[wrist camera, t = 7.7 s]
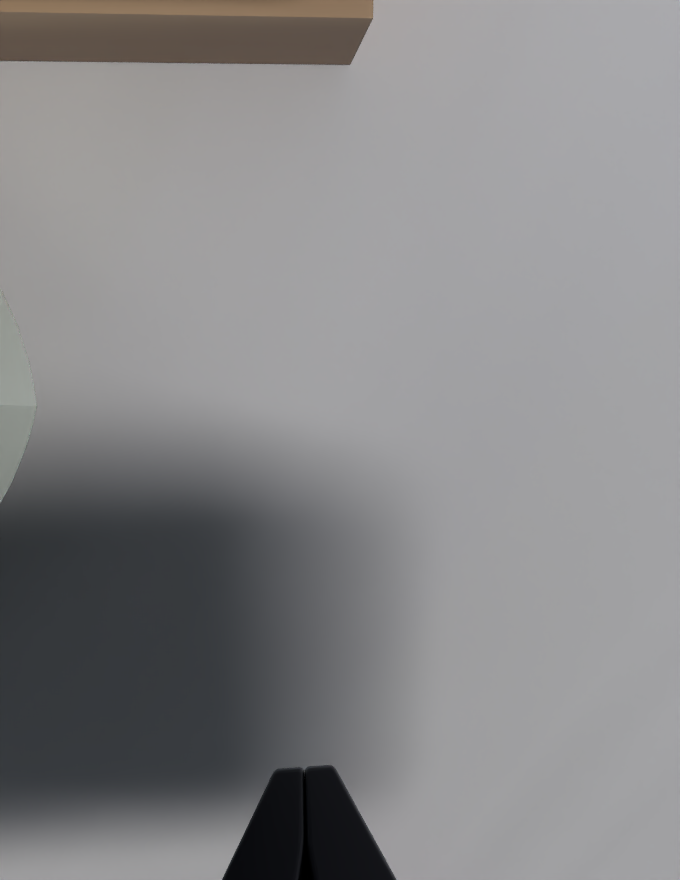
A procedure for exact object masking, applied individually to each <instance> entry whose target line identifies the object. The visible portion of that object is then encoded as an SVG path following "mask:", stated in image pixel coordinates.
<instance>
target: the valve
mask: <svg viewBox="0 0 680 880" xmlns="http://www.w3.org/2000/svg"><path fill="white" fill-rule="evenodd" d="M36 408H37V403H36V396H35V390H34V383H33V378H32V374H31V369H30V364H29V361H28V357H27V354H26V351H25V348H24V344H23V341H22V338H21V335H20V332H19V329H18V326H17V323H16V321H15V319H14V317H13V314H12V312H11V310H10V308H9V306H8V303H7V301H6V299H5V297H4V295H3V293H2V290H1V288H0V503H1V501H2V499H3V498H4V496H5V494H6V492H7V490H8V489H9V487H10V485H11V483H12V481H13V479H14V476H15V474H16V471H17V469H18V467H19V464H20V462H21V459H22V457H23V454H24V451H25V449H26V446H27V443H28V440H29V436H30V433H31V429H32V426H33V421H34V417H35V413H36Z"/></svg>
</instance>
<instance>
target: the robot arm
mask: <svg viewBox="0 0 680 880" xmlns="http://www.w3.org/2000/svg"><path fill="white" fill-rule="evenodd" d="M222 880H396V878H395V876H394V874H393V872H392V871H391V869H390V867H389V865H388V863H387V862H386V860H385V858H384V856H383V854H382V852H381V851H380V849H379V847H378V845H377V843H376V842H375V840H374V838H373V836H372V834H371V832H370V831H369V829H368V827H367V825H366V823H365V821H364V820H363V818H362V816H361V814H360V812H359V811H358V809H357V807H356V805H355V803H354V801H353V800H352V798H351V796H350V794H349V792H348V791H347V789H346V787H345V785H344V783H343V781H342V780H341V778H340V776H339V774H338V772H337V771H336V769H335V768H334V767H333V766H331V765H323V766H310V767H307V768H306V770H305V776H304V770H303V769H302V768H300V767H295V768H281V769H277V770H275V771H274V773H273V774H272V776H271V778H270V780H269V782H268V784H267V787H266V789H265V791H264V793H263V795H262V797H261V799H260V801H259V803H258V805H257V808H256V810H255V812H254V814H253V816H252V818H251V820H250V822H249V824H248V826H247V828H246V831H245V833H244V835H243V837H242V839H241V841H240V843H239V845H238V847H237V849H236V851H235V854H234V856H233V858H232V860H231V862H230V864H229V866H228V868H227V870H226V872H225V874H224V877H223V879H222Z"/></svg>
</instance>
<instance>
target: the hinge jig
mask: <svg viewBox="0 0 680 880" xmlns="http://www.w3.org/2000/svg"><path fill="white" fill-rule="evenodd" d="M372 19H373V0H0V61H77V62H164V63H250V64H337V65H350V64H351V62H352V60H353V58H354V56H355V54H356V52H357V50H358V48H359V46H360V44H361V42H362V39H363V37H364V35H365V33H366V31H367V29H368V27H369V25H370V23H371V21H372Z"/></svg>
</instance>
